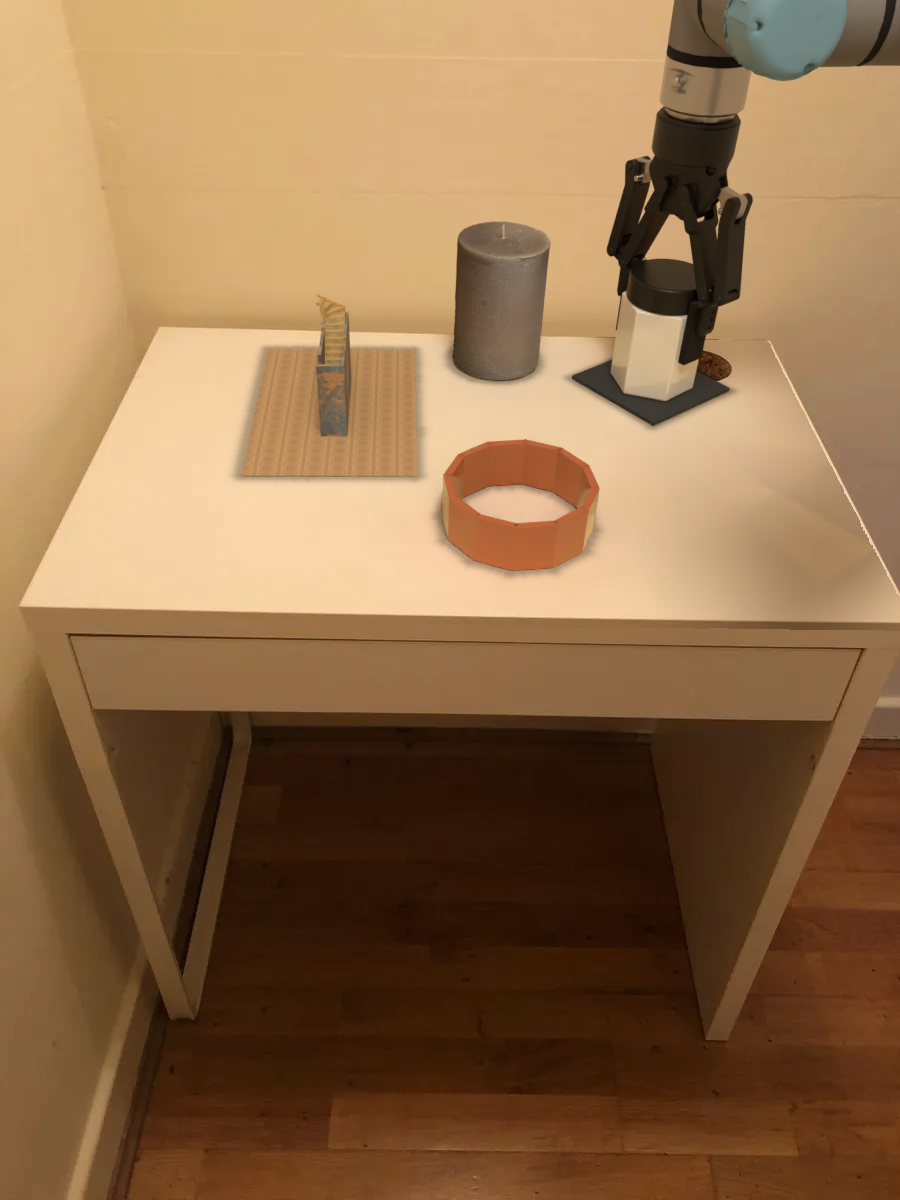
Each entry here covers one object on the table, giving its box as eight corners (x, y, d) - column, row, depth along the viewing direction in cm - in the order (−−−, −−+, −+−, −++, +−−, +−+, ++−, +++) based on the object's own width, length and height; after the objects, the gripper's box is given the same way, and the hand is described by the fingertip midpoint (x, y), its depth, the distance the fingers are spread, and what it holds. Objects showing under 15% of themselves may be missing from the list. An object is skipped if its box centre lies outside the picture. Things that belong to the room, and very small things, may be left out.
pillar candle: (435, 354, 110) (437, 220, 100) (502, 332, 115) (511, 201, 105) (489, 390, 104) (497, 252, 94) (557, 365, 109) (572, 231, 99)
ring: (621, 532, 86) (628, 490, 83) (510, 590, 80) (514, 547, 77) (523, 465, 94) (527, 424, 91) (414, 513, 88) (414, 471, 85)
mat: (729, 391, 106) (730, 387, 105) (653, 426, 100) (653, 422, 100) (647, 348, 112) (647, 345, 112) (571, 378, 107) (572, 375, 106)
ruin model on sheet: (268, 348, 110) (259, 264, 103) (414, 349, 111) (414, 266, 104) (241, 475, 91) (228, 382, 85) (417, 476, 92) (417, 383, 86)
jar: (697, 371, 108) (720, 265, 100) (686, 407, 102) (710, 297, 94) (617, 357, 110) (634, 251, 102) (602, 391, 104) (618, 282, 96)
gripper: (587, 89, 92) (562, 316, 107) (768, 149, 80) (711, 395, 95) (642, 77, 96) (611, 299, 111) (823, 133, 84) (760, 373, 99)
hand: (657, 343), depth 103 cm, fingers closed on jar, 8 cm apart
